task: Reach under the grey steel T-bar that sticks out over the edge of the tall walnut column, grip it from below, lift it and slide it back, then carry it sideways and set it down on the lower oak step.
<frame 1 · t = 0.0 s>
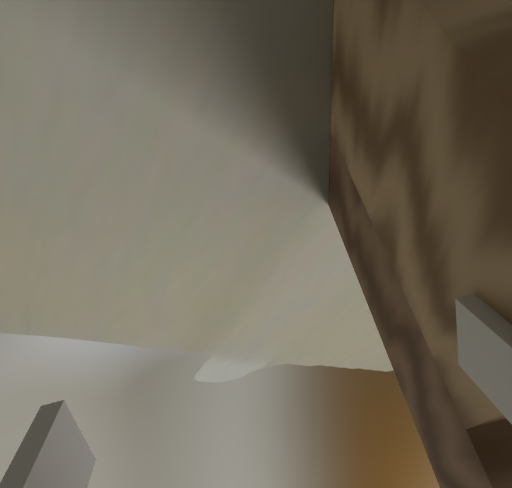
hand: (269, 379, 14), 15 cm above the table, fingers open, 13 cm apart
walnut step stand: (460, 72, 24), on the table
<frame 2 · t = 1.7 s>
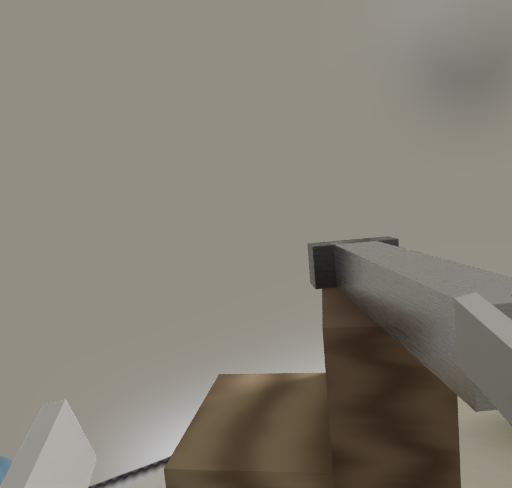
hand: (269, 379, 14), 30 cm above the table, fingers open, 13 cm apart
steel bar: (398, 313, 28), point 28 cm above the table, touching walnut step stand
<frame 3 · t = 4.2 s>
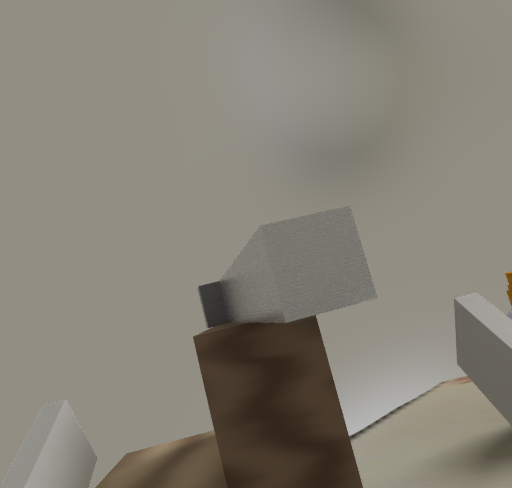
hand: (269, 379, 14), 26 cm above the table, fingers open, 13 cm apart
steel bar: (269, 315, 29), point 28 cm above the table, touching walnut step stand
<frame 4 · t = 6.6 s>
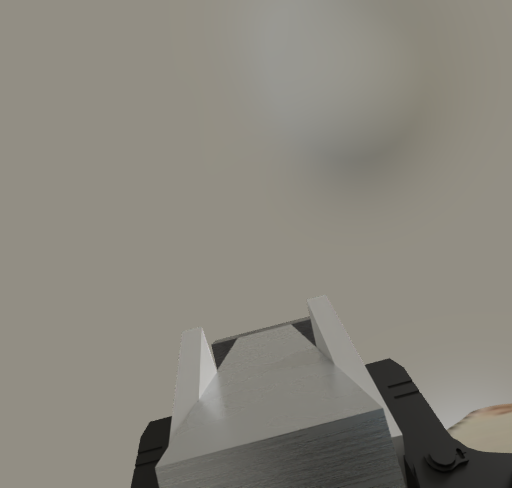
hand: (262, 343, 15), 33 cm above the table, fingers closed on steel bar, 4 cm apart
steel bar: (286, 430, 19), point 28 cm above the table, touching gripper
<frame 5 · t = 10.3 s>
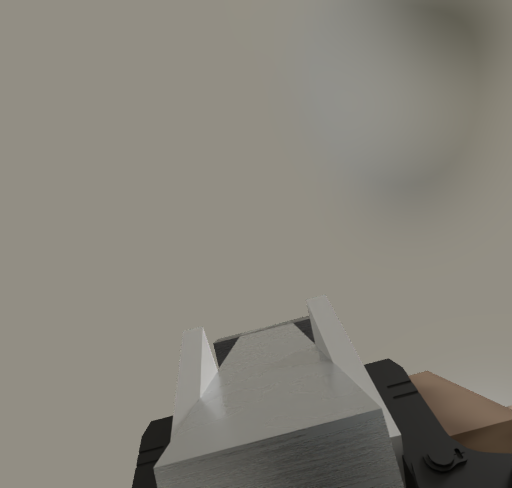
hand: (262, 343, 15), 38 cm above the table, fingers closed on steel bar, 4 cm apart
steel bar: (287, 429, 19), point 33 cm above the table, touching gripper
when the fingers open (25 cm above the table, at t = 13.8 s): steel bar drops 2 cm, resting on walnut step stand.
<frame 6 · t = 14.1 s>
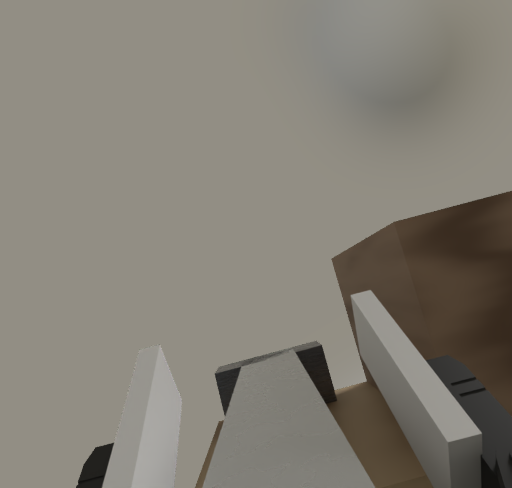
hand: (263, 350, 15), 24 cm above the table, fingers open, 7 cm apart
steel bar: (293, 476, 19), point 18 cm above the table, touching walnut step stand
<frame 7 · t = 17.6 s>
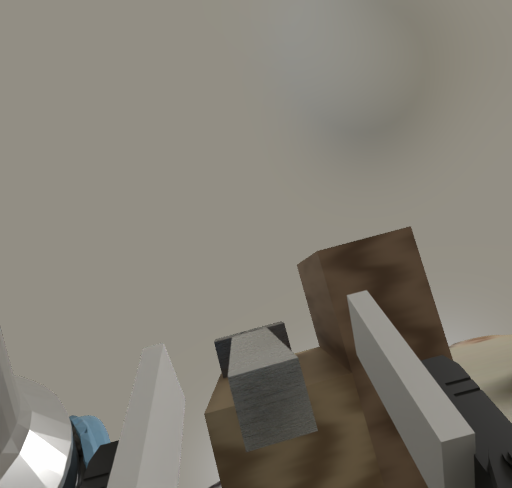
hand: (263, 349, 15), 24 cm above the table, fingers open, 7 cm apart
steel bar: (265, 388, 35), point 18 cm above the table, touching walnut step stand
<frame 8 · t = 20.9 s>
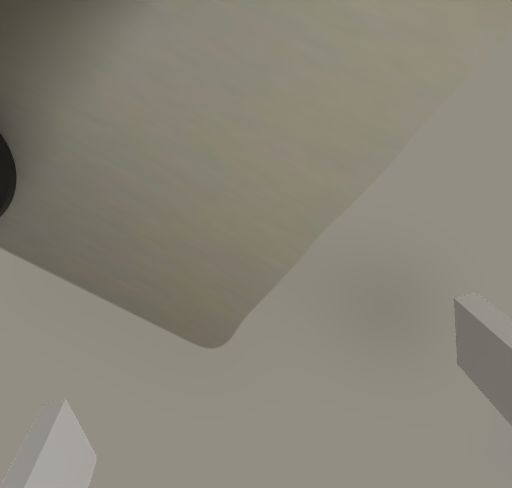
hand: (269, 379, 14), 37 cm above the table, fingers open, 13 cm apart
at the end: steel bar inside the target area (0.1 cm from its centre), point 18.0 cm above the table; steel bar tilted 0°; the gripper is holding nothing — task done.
